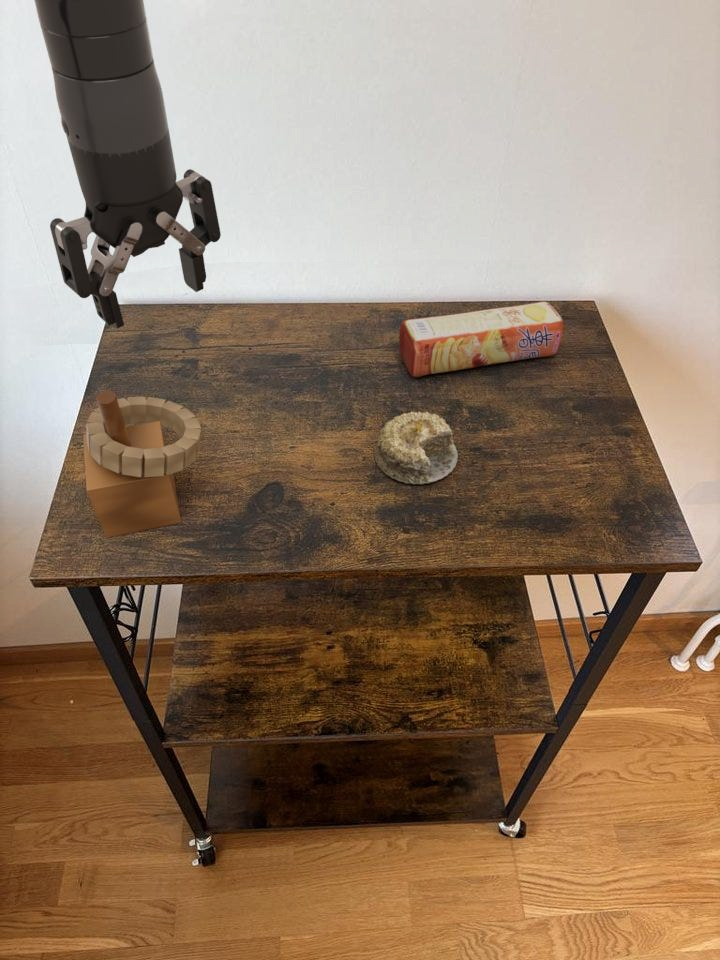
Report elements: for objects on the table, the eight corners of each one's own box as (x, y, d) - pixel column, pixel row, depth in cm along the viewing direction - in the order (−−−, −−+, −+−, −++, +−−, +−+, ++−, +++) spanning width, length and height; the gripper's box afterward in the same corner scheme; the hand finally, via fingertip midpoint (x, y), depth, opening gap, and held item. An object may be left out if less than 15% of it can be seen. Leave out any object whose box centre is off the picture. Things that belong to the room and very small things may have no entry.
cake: (360, 473, 86) (358, 440, 82) (393, 420, 92) (392, 387, 88) (440, 497, 83) (442, 464, 79) (469, 440, 89) (472, 406, 85)
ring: (207, 424, 82) (208, 406, 80) (188, 485, 73) (190, 465, 71) (104, 407, 80) (104, 389, 79) (72, 467, 71) (72, 447, 70)
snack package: (539, 331, 103) (550, 290, 98) (559, 361, 99) (572, 320, 94) (395, 353, 99) (398, 312, 94) (409, 385, 95) (414, 344, 90)
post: (106, 538, 78) (63, 434, 66) (101, 483, 83) (61, 376, 71) (181, 522, 80) (153, 418, 68) (172, 469, 85) (145, 363, 73)
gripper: (54, 174, 50) (109, 358, 63) (223, 116, 57) (242, 293, 69) (4, 136, 54) (65, 317, 66) (169, 85, 60) (196, 259, 73)
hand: (156, 304), depth 68 cm, fingers open, 8 cm apart
